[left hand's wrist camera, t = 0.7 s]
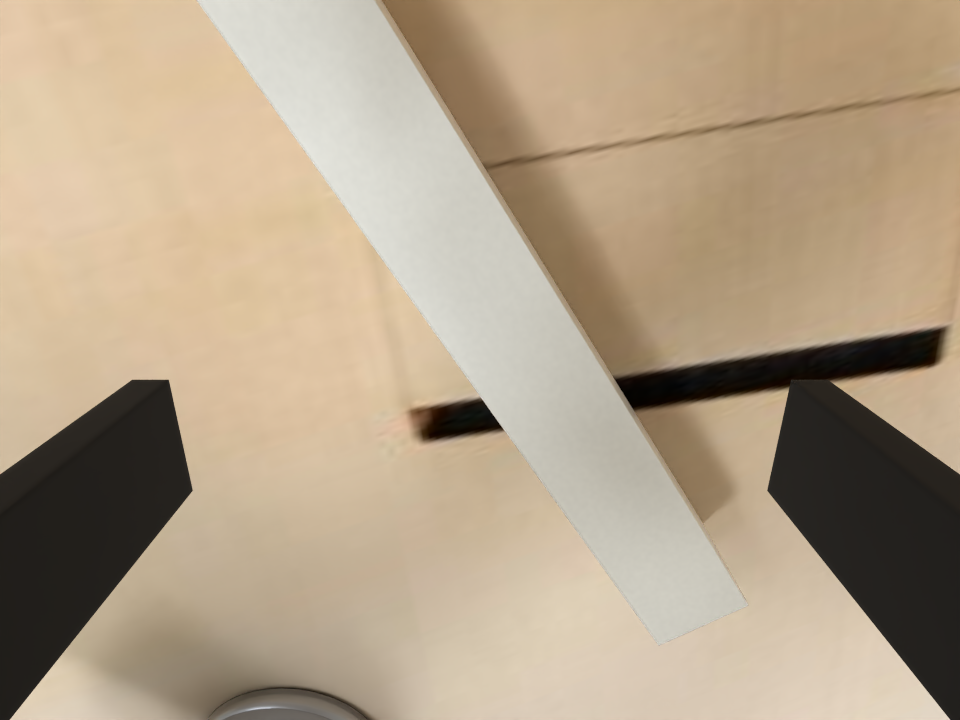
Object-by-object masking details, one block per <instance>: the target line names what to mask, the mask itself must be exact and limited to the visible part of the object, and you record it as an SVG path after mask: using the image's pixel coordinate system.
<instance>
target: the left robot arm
mask: <svg viewBox="0 0 960 720" xmlns="http://www.w3.org/2000/svg"><path fill="white" fill-rule="evenodd" d="M192 491H193V490H192V485H191V481H190V476H189V472H188V467H187V462H186V458H185V453H184V448H183V444H182V439H181V435H180V430H179V425H178V421H177V416H176V411H175V407H174V402H173V397H172V393H171V388H170V384H169V380H132V381H130V382H129V383H127V384H126V385H125V386H123V387H122V388H120V389H119V390H118V391H116V392H115V393H113V394H112V395H111V396H109V397H108V398H106V399H105V400H104V401H102V402H101V403H99V404H98V405H97V406H95V407H94V408H92V409H91V410H90V411H88V412H87V413H85V414H84V415H83V416H81V417H80V418H78V419H77V420H76V421H74V422H73V423H71V424H70V425H69V426H67V427H66V428H64V429H63V430H62V431H60V432H59V433H58V434H56V435H55V436H53V437H52V438H51V439H49V440H48V441H46V442H45V443H44V444H42V445H41V446H39V447H38V448H37V449H35V450H34V451H32V452H31V453H30V454H28V455H27V456H25V457H24V458H23V459H21V460H20V461H18V462H17V463H16V464H14V465H13V466H11V467H10V468H9V469H7V470H6V471H4V472H3V473H2V474H0V720H10V719H11V717H12V716H13V715H14V714H15V712H16V711H17V710H18V709H19V707H20V706H21V705H22V704H23V702H24V701H25V700H26V699H27V697H28V696H29V695H30V694H31V692H32V691H33V690H34V689H35V687H36V686H37V685H38V684H39V682H40V681H41V680H42V679H43V677H44V676H45V675H46V674H47V672H48V671H49V670H50V669H51V667H52V666H53V665H54V663H55V662H56V661H57V660H58V658H59V657H60V656H61V655H62V653H63V652H64V651H65V650H66V648H67V647H68V646H69V645H70V643H71V642H72V641H73V640H74V638H75V637H76V636H77V635H78V633H79V632H80V631H81V630H82V628H83V627H84V626H85V625H86V623H87V622H88V621H89V620H90V618H91V617H92V616H93V615H94V613H95V612H96V611H97V610H98V608H99V607H100V606H101V605H102V603H103V602H104V601H105V600H106V598H107V597H108V596H109V595H110V593H111V592H112V591H113V590H114V588H115V587H116V586H117V585H118V583H119V582H120V581H121V580H122V578H123V577H124V576H125V575H126V573H127V572H128V571H129V570H130V568H131V567H132V566H133V565H134V563H135V562H136V561H137V560H138V558H139V557H140V556H141V555H142V553H143V552H144V551H145V550H146V548H147V547H148V546H149V545H150V543H151V542H152V541H153V540H154V538H155V537H156V536H157V535H158V533H159V532H160V531H161V530H162V528H163V527H164V526H165V525H166V523H167V522H168V521H169V520H170V518H171V517H172V516H173V515H174V513H175V512H176V511H177V510H178V508H179V507H180V506H181V505H182V503H183V502H184V501H185V500H186V498H187V497H188V496H189V495H190V493H191V492H192ZM767 491H768V492H769V493H770V495H771V496H772V497H773V498H774V500H775V501H776V502H777V503H778V505H779V506H780V507H781V508H782V510H783V511H784V512H785V513H786V515H787V516H788V517H789V518H790V520H791V521H792V522H793V523H794V525H795V526H796V527H797V528H798V530H799V531H800V532H801V533H802V535H803V536H804V537H805V538H806V540H807V541H808V542H809V543H810V545H811V546H812V547H813V548H814V550H815V551H816V552H817V553H818V555H819V556H820V557H821V558H822V560H823V561H824V562H825V563H826V565H827V566H828V567H829V568H830V570H831V571H832V572H833V573H834V575H835V576H836V577H837V578H838V580H839V581H840V582H841V583H842V585H843V586H844V587H845V588H846V590H847V591H848V592H849V593H850V595H851V596H852V597H853V598H854V600H855V601H856V602H857V603H858V605H859V606H860V607H861V608H862V610H863V611H864V612H865V613H866V615H867V616H868V617H869V618H870V620H871V621H872V622H873V623H874V625H875V626H876V627H877V628H878V630H879V631H880V632H881V633H882V635H883V636H884V637H885V638H886V640H887V641H888V642H889V643H890V645H891V646H892V647H893V648H894V650H895V651H896V652H897V653H898V655H899V656H900V657H901V658H902V660H903V661H904V662H905V663H906V665H907V666H908V667H909V669H910V670H911V671H912V672H913V674H914V675H915V676H916V677H917V679H918V680H919V681H920V682H921V684H922V685H923V686H924V687H925V689H926V690H927V691H928V692H929V694H930V695H931V696H932V697H933V699H934V700H935V701H936V702H937V704H938V705H939V706H940V707H941V709H942V710H943V711H944V712H945V714H946V715H947V716H948V717H949V719H950V720H960V474H958V473H957V472H956V471H954V470H953V469H951V468H950V467H949V466H947V465H946V464H944V463H943V462H942V461H940V460H939V459H937V458H936V457H935V456H933V455H932V454H930V453H929V452H928V451H926V450H925V449H923V448H922V447H921V446H919V445H918V444H916V443H915V442H914V441H912V440H911V439H909V438H908V437H907V436H905V435H904V434H902V433H901V432H900V431H898V430H897V429H896V428H894V427H893V426H891V425H890V424H889V423H887V422H886V421H884V420H883V419H882V418H880V417H879V416H877V415H876V414H875V413H873V412H872V411H870V410H869V409H868V408H866V407H865V406H863V405H862V404H861V403H859V402H858V401H856V400H855V399H854V398H852V397H851V396H849V395H848V394H847V393H845V392H844V391H842V390H841V389H840V388H838V387H837V386H835V385H834V384H833V383H831V382H830V381H828V380H791V384H790V388H789V393H788V397H787V402H786V407H785V411H784V416H783V421H782V425H781V430H780V435H779V439H778V444H777V448H776V453H775V458H774V462H773V467H772V472H771V476H770V481H769V485H768V490H767ZM207 720H367V719H366V718H365V717H364V716H363V715H362V714H360V713H359V712H358V711H356V710H355V709H353V708H352V707H350V706H348V705H347V704H345V703H343V702H341V701H338V700H336V699H334V698H331V697H329V696H325V695H322V694H319V693H315V692H311V691H305V690H298V689H281V688H280V689H266V690H259V691H254V692H250V693H246V694H243V695H240V696H238V697H235V698H233V699H231V700H229V701H227V702H226V703H224V704H223V705H221V706H220V707H219V708H217V709H216V710H215V711H214V712H213V713H212V714H211V715H210V717H209V718H208V719H207Z"/></svg>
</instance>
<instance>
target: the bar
mask: <svg viewBox="0 0 960 720" xmlns="http://www.w3.org/2000/svg"><path fill="white" fill-rule="evenodd" d="M197 2H198V3H199V4H200V6H201V7H202V9H203V10H204V11H205V13H206V14H207V16H208V17H209V18H210V20H211V21H212V23H213V24H214V25H215V27H216V28H217V30H218V31H219V32H220V34H221V35H222V37H223V38H224V39H225V41H226V42H227V44H228V45H229V46H230V48H231V49H232V51H233V52H234V53H235V55H236V56H237V58H238V59H239V60H240V62H241V63H242V65H243V66H244V67H245V69H246V70H247V71H248V73H249V74H250V76H251V77H252V78H253V80H254V81H255V83H256V84H257V85H258V87H259V88H260V90H261V91H262V92H263V94H264V95H265V97H266V98H267V99H268V101H269V102H270V104H271V105H272V106H273V108H274V109H275V111H276V112H277V113H278V115H279V116H280V118H281V119H282V120H283V122H284V123H285V125H286V126H287V127H288V129H289V130H290V132H291V133H292V134H293V136H294V137H295V139H296V140H297V141H298V143H299V144H300V146H301V147H302V148H303V150H304V151H305V152H306V154H307V155H308V157H309V158H310V159H311V161H312V162H313V164H314V165H315V166H316V168H317V169H318V171H319V172H320V173H321V175H322V176H323V178H324V179H325V180H326V182H327V183H328V185H329V186H330V187H331V189H332V190H333V192H334V193H335V194H336V196H337V197H338V199H339V200H340V201H341V203H342V204H343V206H344V207H345V208H346V210H347V211H348V213H349V214H350V215H351V217H352V218H353V220H354V221H355V222H356V224H357V225H358V226H359V228H360V229H361V231H362V232H363V233H364V235H365V236H366V238H367V239H368V240H369V242H370V243H371V245H372V246H373V247H374V249H375V250H376V252H377V253H378V254H379V256H380V257H381V259H382V260H383V261H384V263H385V264H386V266H387V267H388V268H389V270H390V271H391V273H392V274H393V275H394V277H395V278H396V280H397V281H398V282H399V284H400V285H401V287H402V288H403V289H404V291H405V292H406V294H407V295H408V296H409V298H410V299H411V300H412V302H413V303H414V305H415V306H416V307H417V309H418V310H419V312H420V313H421V314H422V316H423V317H424V319H425V320H426V321H427V323H428V324H429V326H430V327H431V328H432V330H433V331H434V333H435V334H436V335H437V337H438V338H439V340H440V341H441V342H442V344H443V345H444V347H445V348H446V349H447V351H448V352H449V354H450V355H451V356H452V358H453V359H454V361H455V362H456V363H457V365H458V366H459V368H460V369H461V370H462V372H463V373H464V375H465V376H466V377H467V379H468V380H469V381H470V383H471V384H472V386H473V387H474V388H475V390H476V391H477V393H478V394H479V395H480V397H481V398H482V400H483V401H484V402H485V404H486V405H487V407H488V408H489V409H490V411H491V412H492V414H493V415H494V416H495V418H496V419H497V421H498V422H499V423H500V425H501V426H502V428H503V429H504V430H505V432H506V433H507V435H508V436H509V437H510V439H511V440H512V442H513V443H514V444H515V446H516V447H517V449H518V450H519V451H520V453H521V454H522V455H523V457H524V458H525V460H526V461H527V462H528V464H529V465H530V467H531V468H532V469H533V471H534V472H535V474H536V475H537V476H538V478H539V479H540V481H541V482H542V483H543V485H544V486H545V488H546V489H547V490H548V492H549V493H550V495H551V496H552V497H553V499H554V500H555V502H556V503H557V504H558V506H559V507H560V509H561V510H562V511H563V513H564V514H565V516H566V517H567V518H568V520H569V521H570V523H571V524H572V525H573V527H574V528H575V529H576V531H577V532H578V534H579V535H580V536H581V538H582V539H583V541H584V542H585V543H586V545H587V546H588V548H589V549H590V550H591V552H592V553H593V555H594V556H595V557H596V559H597V560H598V562H599V563H600V564H601V566H602V567H603V569H604V570H605V571H606V573H607V574H608V576H609V577H610V578H611V580H612V581H613V583H614V584H615V585H616V587H617V588H618V590H619V591H620V592H621V594H622V595H623V597H624V598H625V599H626V601H627V602H628V604H629V605H630V606H631V608H632V609H633V610H634V612H635V613H636V615H637V616H638V617H639V619H640V620H641V622H642V623H643V624H644V626H645V627H646V629H647V630H648V631H649V633H650V634H651V636H652V637H653V638H654V640H655V641H656V643H657V644H658V645H661V644H664V643H666V642H668V641H670V640H673V639H675V638H677V637H679V636H681V635H684V634H686V633H688V632H690V631H693V630H695V629H697V628H699V627H702V626H704V625H706V624H708V623H711V622H713V621H715V620H717V619H719V618H722V617H724V616H726V615H728V614H731V613H733V612H735V611H737V610H740V609H742V608H744V607H746V606H748V603H747V601H746V599H745V598H744V596H743V594H742V592H741V590H740V589H739V587H738V585H737V583H736V582H735V580H734V578H733V576H732V574H731V573H730V571H729V569H728V567H727V565H726V564H725V562H724V560H723V558H722V557H721V555H720V553H719V551H718V549H717V548H716V546H715V544H714V542H713V540H712V539H711V537H710V535H709V533H708V532H707V530H706V528H705V526H704V524H703V523H702V521H701V519H700V518H699V516H698V515H697V513H696V511H695V510H694V508H693V506H692V505H691V503H690V502H689V500H688V498H687V497H686V495H685V493H684V492H683V490H682V488H681V487H680V485H679V484H678V482H677V480H676V479H675V477H674V475H673V474H672V472H671V471H670V469H669V467H668V466H667V464H666V462H665V461H664V459H663V458H662V456H661V454H660V453H659V451H658V449H657V448H656V446H655V445H654V443H653V441H652V440H651V438H650V436H649V435H648V433H647V431H646V430H645V428H644V427H643V425H642V423H641V422H640V420H639V418H638V417H637V415H636V414H635V412H634V410H633V409H632V407H631V405H630V404H629V402H628V401H627V399H626V397H625V396H624V394H623V392H622V391H621V389H620V388H619V386H618V384H617V383H616V381H615V379H614V378H613V376H612V374H611V373H610V371H609V370H608V368H607V366H606V365H605V363H604V361H603V360H602V358H601V357H600V355H599V353H598V352H597V350H596V348H595V347H594V345H593V344H592V342H591V340H590V339H589V337H588V335H587V334H586V332H585V331H584V329H583V327H582V326H581V324H580V322H579V321H578V319H577V317H576V316H575V314H574V313H573V311H572V309H571V308H570V306H569V304H568V303H567V301H566V300H565V298H564V296H563V295H562V293H561V291H560V290H559V288H558V287H557V285H556V283H555V282H554V280H553V278H552V277H551V275H550V273H549V272H548V270H547V269H546V267H545V265H544V264H543V262H542V260H541V259H540V257H539V256H538V254H537V252H536V251H535V249H534V247H533V246H532V244H531V243H530V241H529V239H528V238H527V236H526V234H525V233H524V231H523V230H522V228H521V226H520V225H519V223H518V221H517V220H516V218H515V216H514V215H513V213H512V212H511V210H510V208H509V207H508V205H507V203H506V202H505V200H504V199H503V197H502V195H501V194H500V192H499V190H498V189H497V187H496V186H495V184H494V182H493V181H492V179H491V177H490V176H489V174H488V173H487V171H486V169H485V168H484V166H483V164H482V163H481V161H480V159H479V158H478V156H477V155H476V153H475V151H474V150H473V148H472V146H471V145H470V143H469V142H468V140H467V138H466V137H465V135H464V133H463V132H462V130H461V129H460V127H459V125H458V124H457V122H456V120H455V119H454V117H453V116H452V114H451V112H450V111H449V109H448V107H447V106H446V104H445V102H444V101H443V99H442V98H441V96H440V94H439V93H438V91H437V89H436V88H435V86H434V85H433V83H432V81H431V80H430V78H429V76H428V75H427V73H426V72H425V70H424V68H423V67H422V65H421V63H420V62H419V60H418V59H417V57H416V55H415V54H414V52H413V50H412V49H411V47H410V45H409V44H408V42H407V41H406V39H405V37H404V36H403V34H402V32H401V31H400V29H399V28H398V26H397V24H396V23H395V21H394V19H393V18H392V16H391V15H390V13H389V11H388V10H387V8H386V6H385V5H384V3H383V1H382V0H197Z"/></svg>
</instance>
